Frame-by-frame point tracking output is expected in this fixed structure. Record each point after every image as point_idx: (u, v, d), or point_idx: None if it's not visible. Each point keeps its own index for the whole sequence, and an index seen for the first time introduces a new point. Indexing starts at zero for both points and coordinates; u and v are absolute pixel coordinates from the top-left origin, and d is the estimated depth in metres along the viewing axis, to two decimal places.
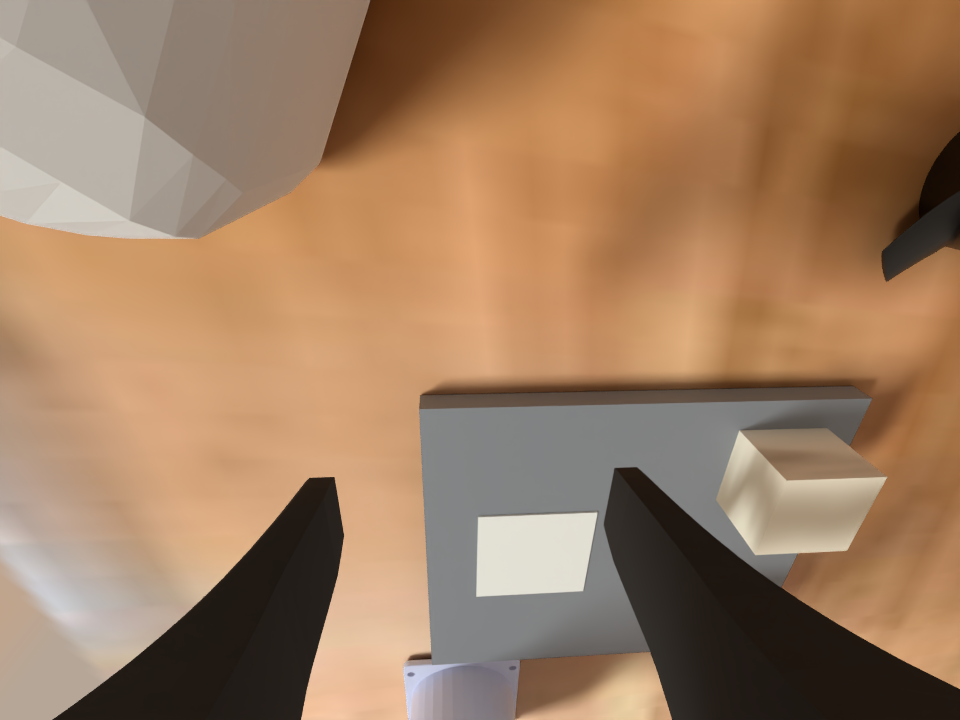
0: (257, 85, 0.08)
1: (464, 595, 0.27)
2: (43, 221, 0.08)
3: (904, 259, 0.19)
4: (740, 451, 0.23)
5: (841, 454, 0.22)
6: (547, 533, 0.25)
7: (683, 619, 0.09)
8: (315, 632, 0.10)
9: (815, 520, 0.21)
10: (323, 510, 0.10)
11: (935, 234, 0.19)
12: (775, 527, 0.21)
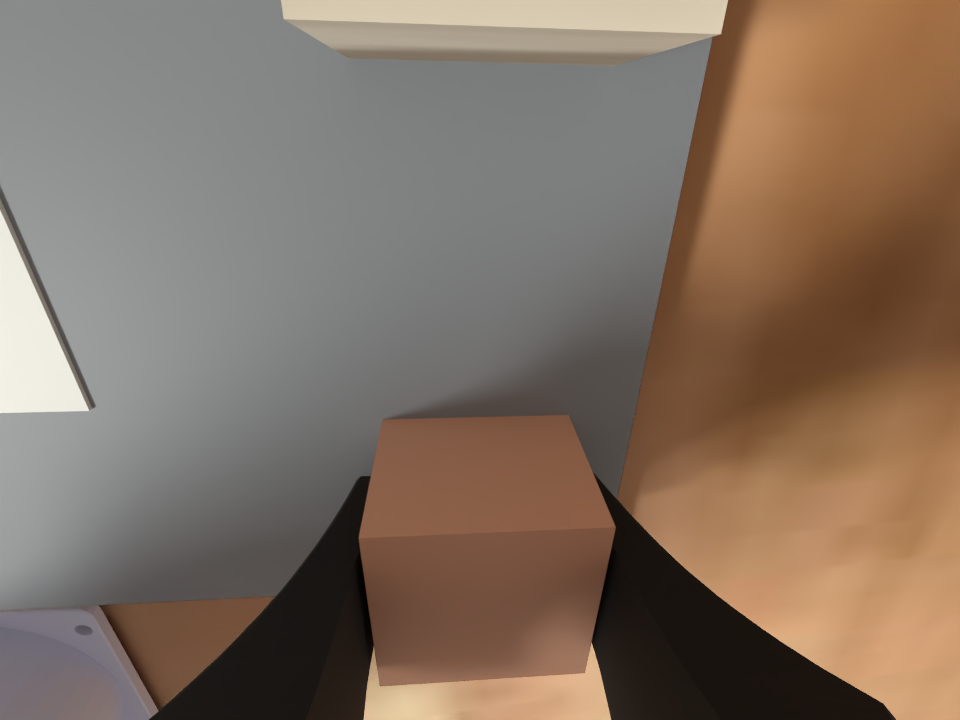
0: None
1: None
2: None
3: None
4: None
5: None
6: None
7: (620, 623, 0.09)
8: None
9: None
10: None
11: None
12: None
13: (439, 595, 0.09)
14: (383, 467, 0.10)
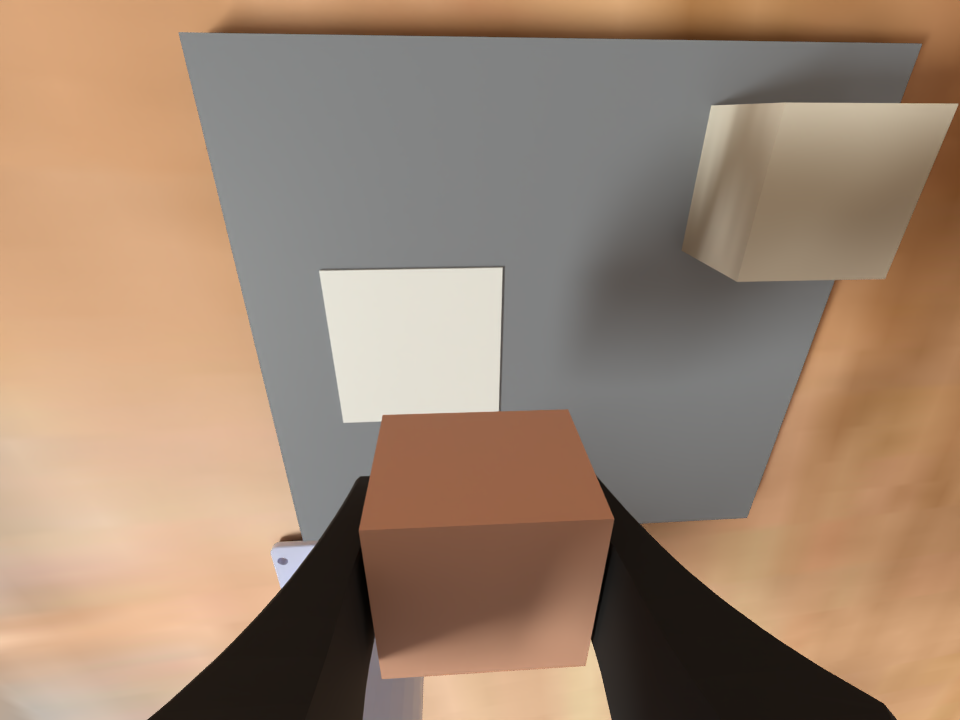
0: None
1: (326, 421, 0.19)
2: None
3: None
4: (713, 137, 0.15)
5: None
6: (431, 306, 0.17)
7: (620, 623, 0.09)
8: (372, 629, 0.10)
9: (834, 205, 0.13)
10: None
11: None
12: (768, 218, 0.13)
13: (439, 588, 0.09)
14: (383, 461, 0.10)
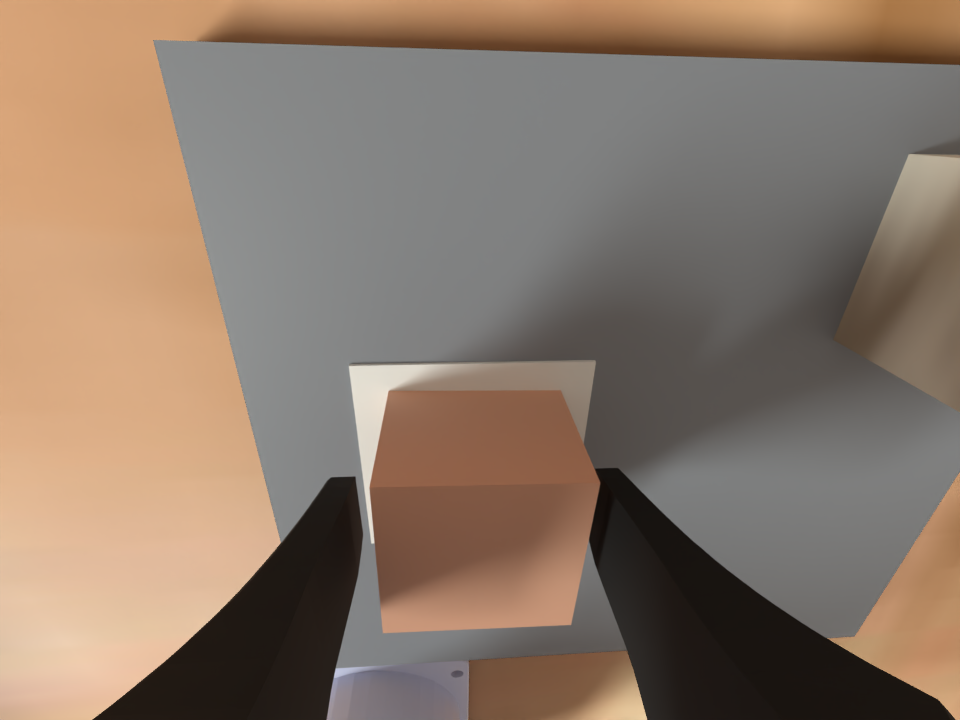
0: None
1: None
2: None
3: None
4: (912, 198, 0.10)
5: None
6: None
7: (657, 621, 0.09)
8: (339, 631, 0.10)
9: None
10: (346, 509, 0.10)
11: None
12: None
13: (440, 545, 0.10)
14: (390, 430, 0.11)
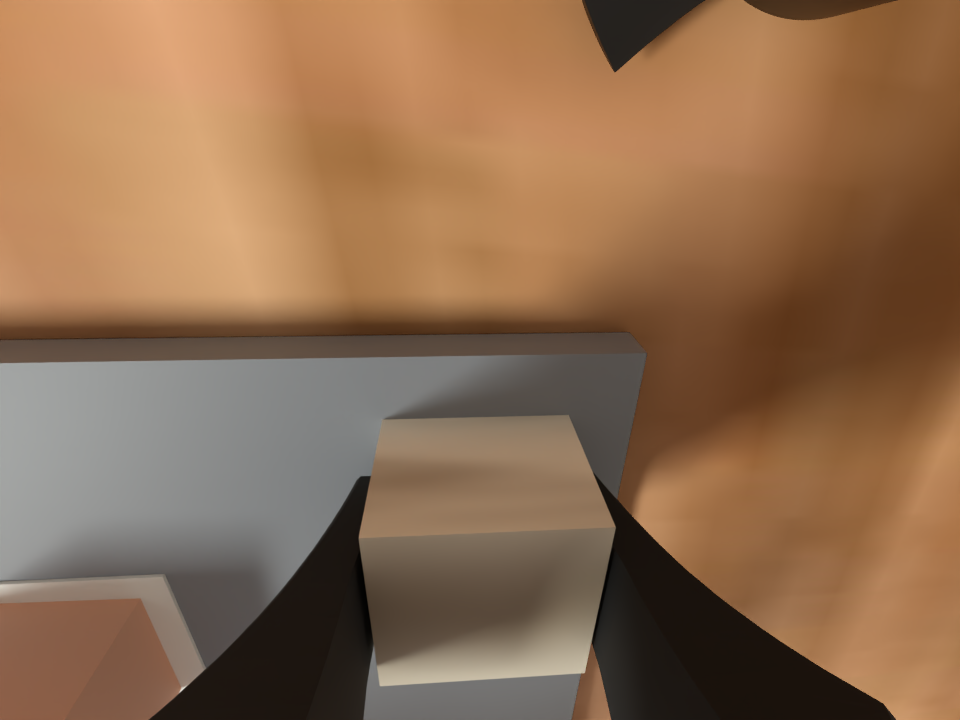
0: None
1: None
2: None
3: None
4: None
5: (551, 470, 0.10)
6: None
7: (620, 623, 0.09)
8: None
9: (480, 619, 0.09)
10: None
11: None
12: (394, 635, 0.09)
13: None
14: None
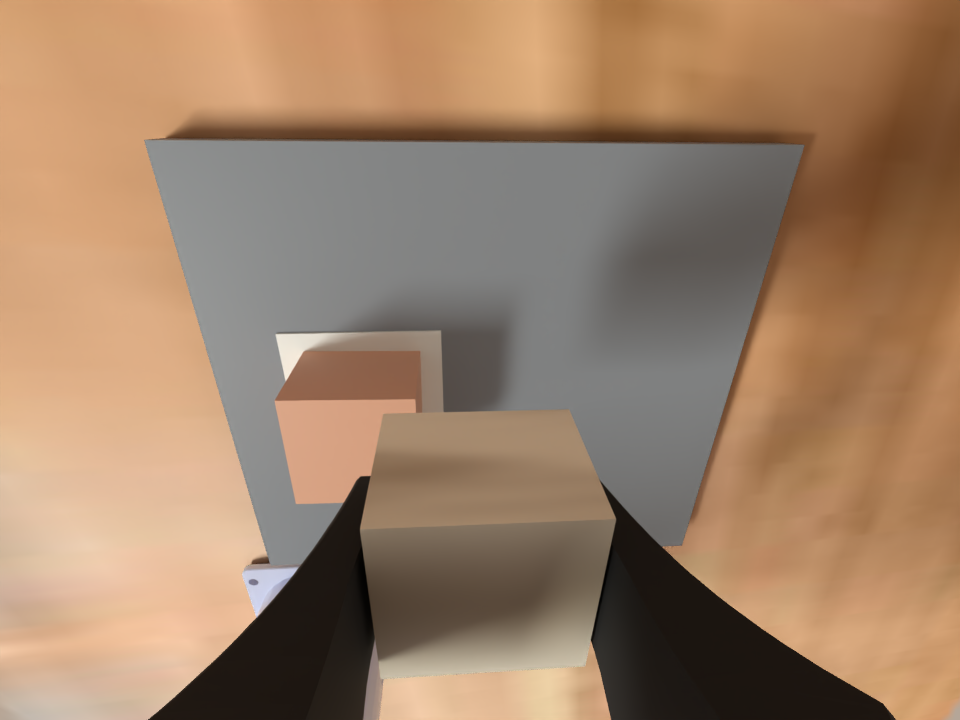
0: None
1: None
2: None
3: None
4: None
5: (552, 463, 0.10)
6: None
7: (620, 623, 0.09)
8: (372, 629, 0.10)
9: (481, 612, 0.09)
10: None
11: None
12: (395, 627, 0.09)
13: (323, 440, 0.16)
14: (297, 373, 0.17)
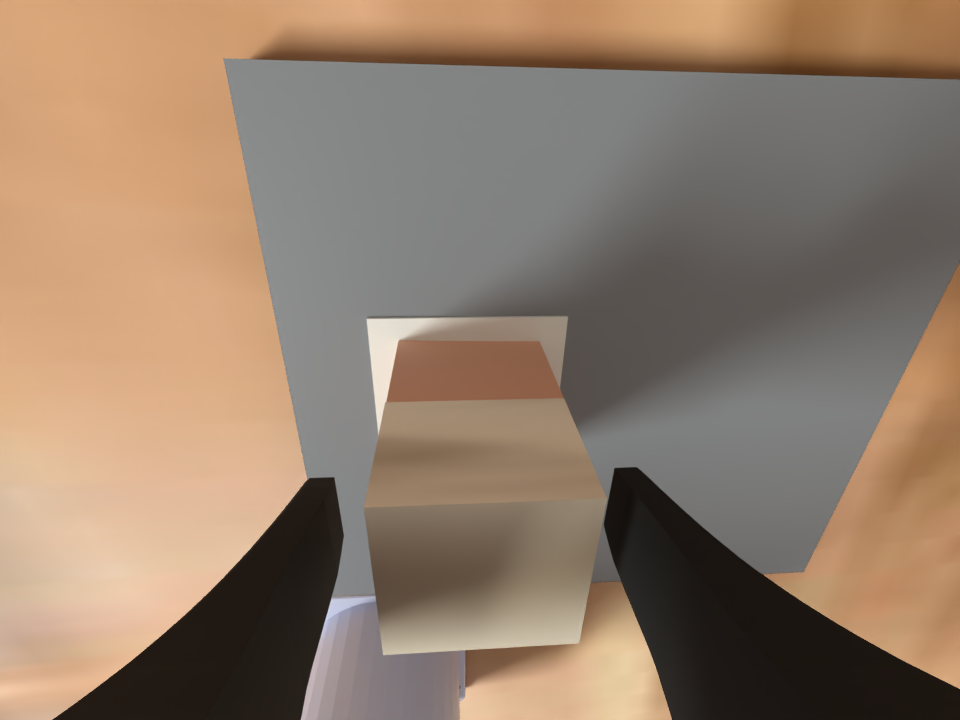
0: None
1: (364, 474, 0.18)
2: None
3: None
4: None
5: (547, 448, 0.10)
6: None
7: (683, 619, 0.09)
8: (315, 632, 0.10)
9: (479, 589, 0.10)
10: (323, 510, 0.10)
11: None
12: (397, 604, 0.10)
13: None
14: (401, 366, 0.13)
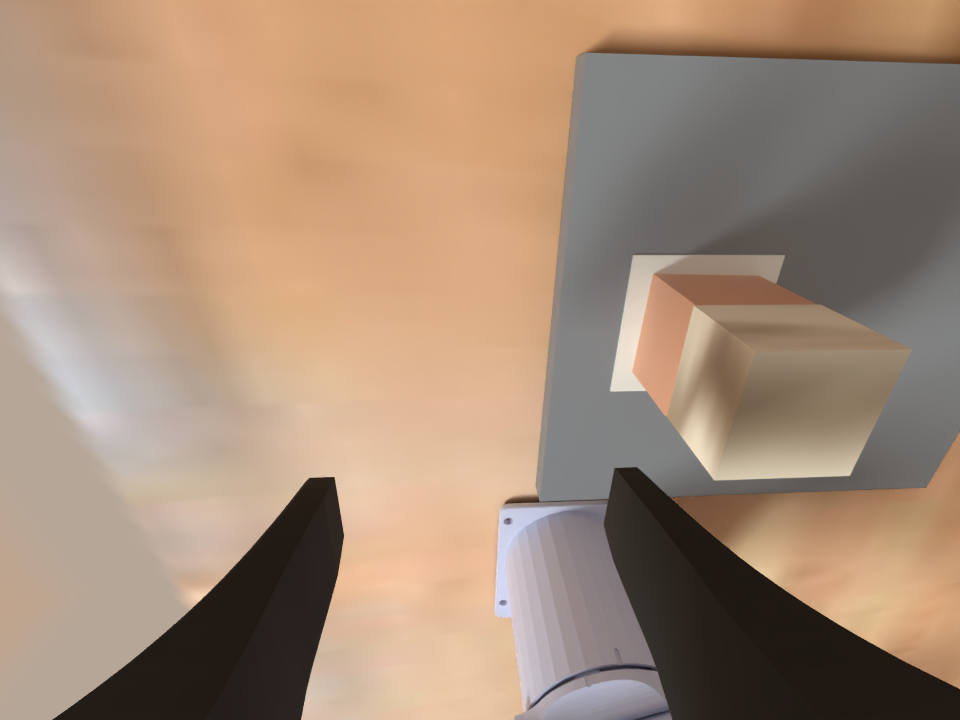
0: None
1: (595, 390, 0.22)
2: None
3: None
4: (695, 335, 0.16)
5: (841, 327, 0.14)
6: None
7: (683, 619, 0.09)
8: (315, 632, 0.10)
9: (801, 423, 0.14)
10: (323, 510, 0.10)
11: None
12: (742, 434, 0.14)
13: None
14: (676, 287, 0.18)
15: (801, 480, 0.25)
